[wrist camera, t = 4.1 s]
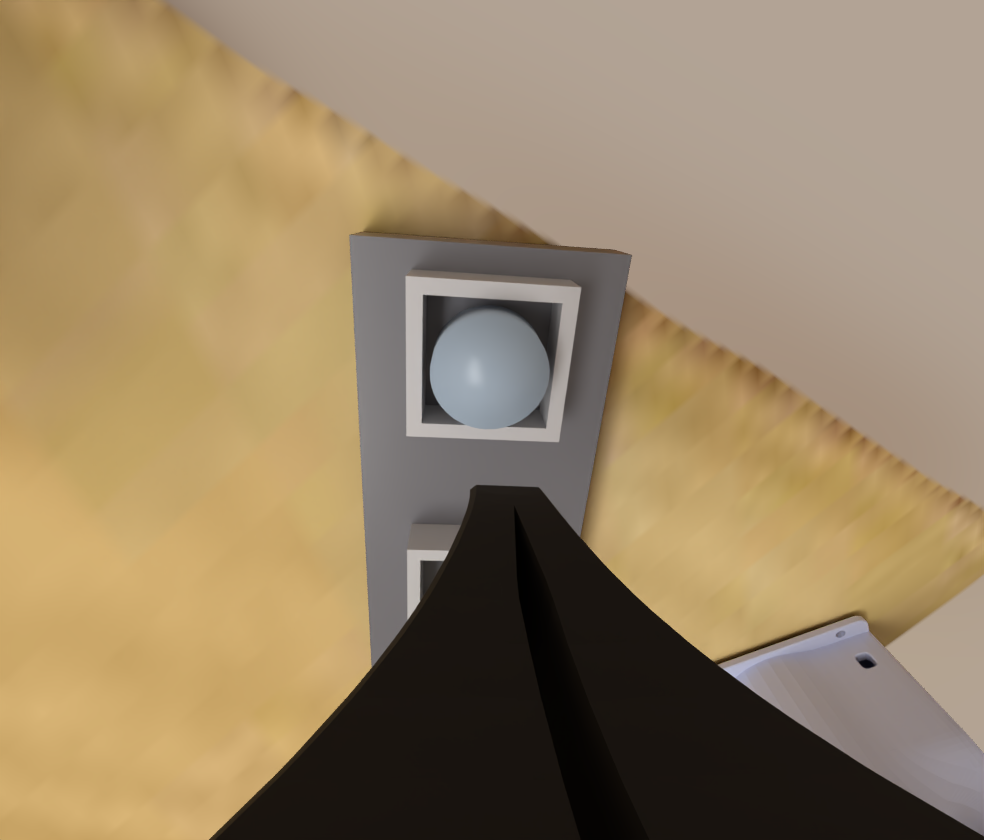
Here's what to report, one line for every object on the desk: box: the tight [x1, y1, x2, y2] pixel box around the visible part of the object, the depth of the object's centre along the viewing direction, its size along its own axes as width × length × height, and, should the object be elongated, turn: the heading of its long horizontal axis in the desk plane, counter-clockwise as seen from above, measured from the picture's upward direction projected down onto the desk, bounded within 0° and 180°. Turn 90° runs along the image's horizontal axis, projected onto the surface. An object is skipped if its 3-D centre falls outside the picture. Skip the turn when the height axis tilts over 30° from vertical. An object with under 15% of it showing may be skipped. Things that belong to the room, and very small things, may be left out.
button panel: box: [349, 232, 632, 667], centre depth 21 cm, size 27×9×4 cm, turn 176°
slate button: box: [430, 305, 550, 429], centre depth 15 cm, size 4×4×2 cm
